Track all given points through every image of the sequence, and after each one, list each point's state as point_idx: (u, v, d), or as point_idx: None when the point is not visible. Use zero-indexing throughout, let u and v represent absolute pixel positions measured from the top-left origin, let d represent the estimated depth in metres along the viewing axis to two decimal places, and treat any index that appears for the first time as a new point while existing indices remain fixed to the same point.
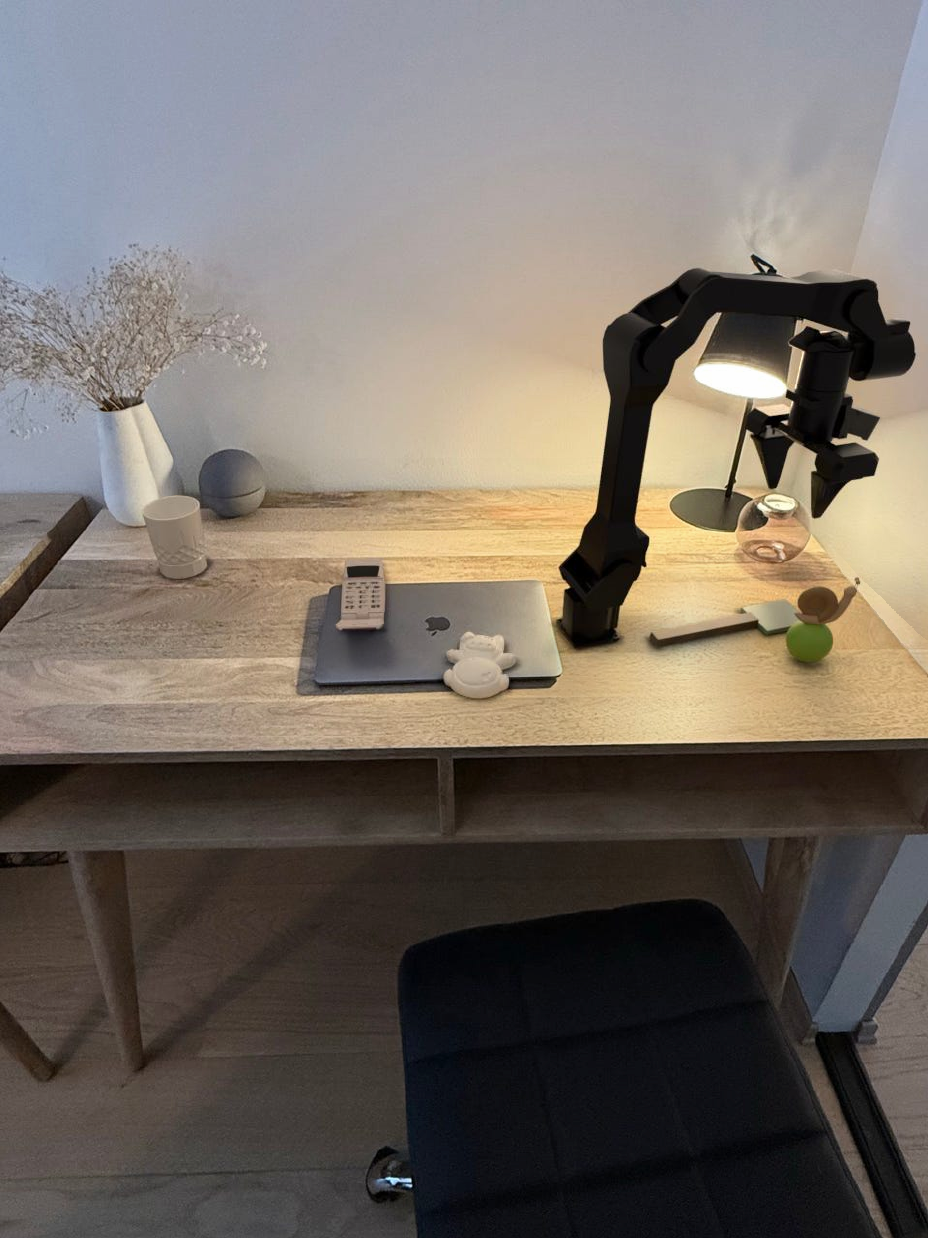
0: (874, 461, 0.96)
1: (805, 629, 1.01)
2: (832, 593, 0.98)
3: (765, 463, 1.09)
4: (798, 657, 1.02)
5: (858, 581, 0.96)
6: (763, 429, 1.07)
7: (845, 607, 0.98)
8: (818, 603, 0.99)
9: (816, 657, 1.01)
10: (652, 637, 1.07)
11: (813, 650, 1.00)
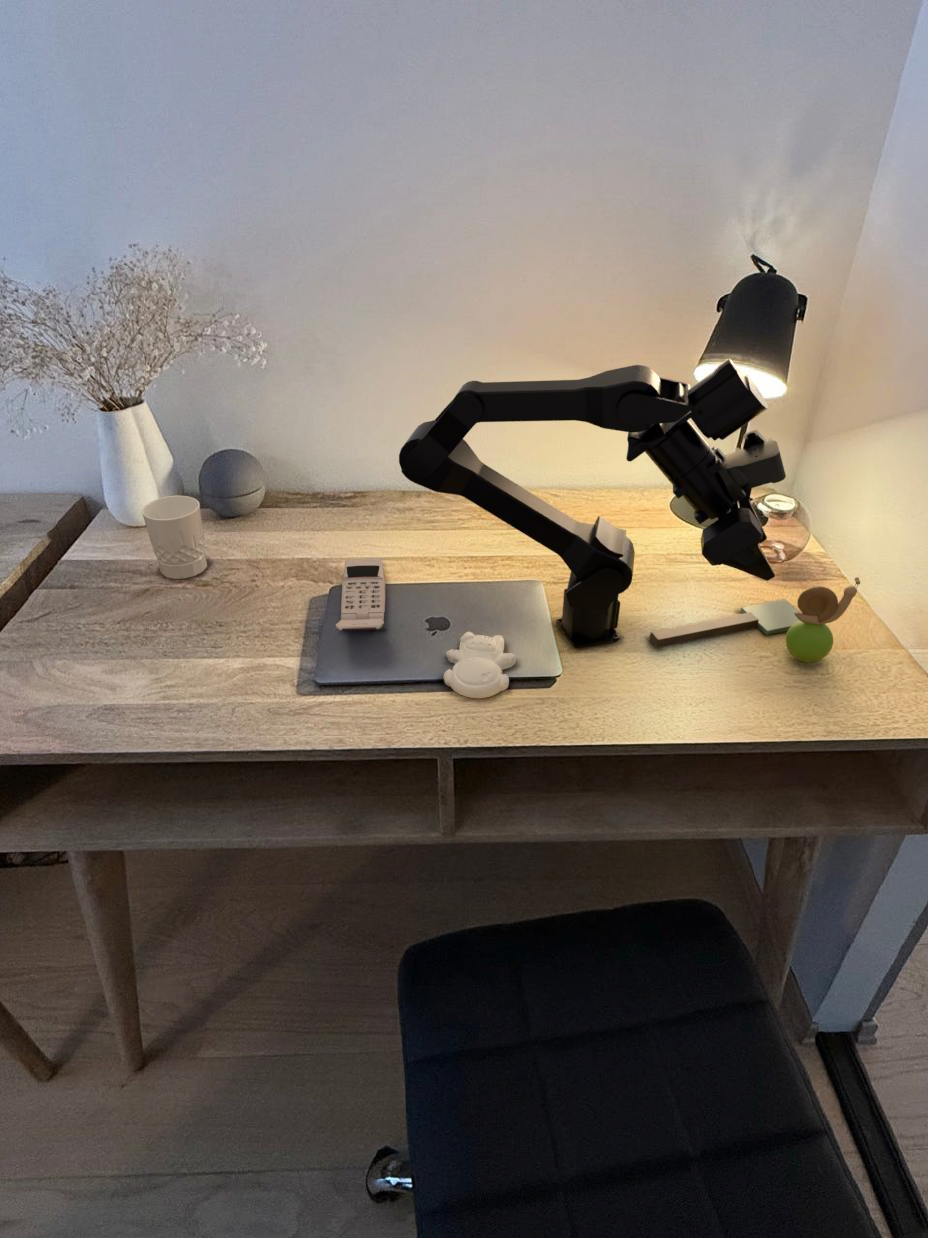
0: (742, 530, 0.87)
1: (805, 629, 1.01)
2: (832, 593, 0.98)
3: None
4: (798, 657, 1.02)
5: (858, 581, 0.96)
6: None
7: (845, 607, 0.98)
8: (818, 603, 0.99)
9: (816, 657, 1.01)
10: (652, 637, 1.07)
11: (813, 650, 1.00)
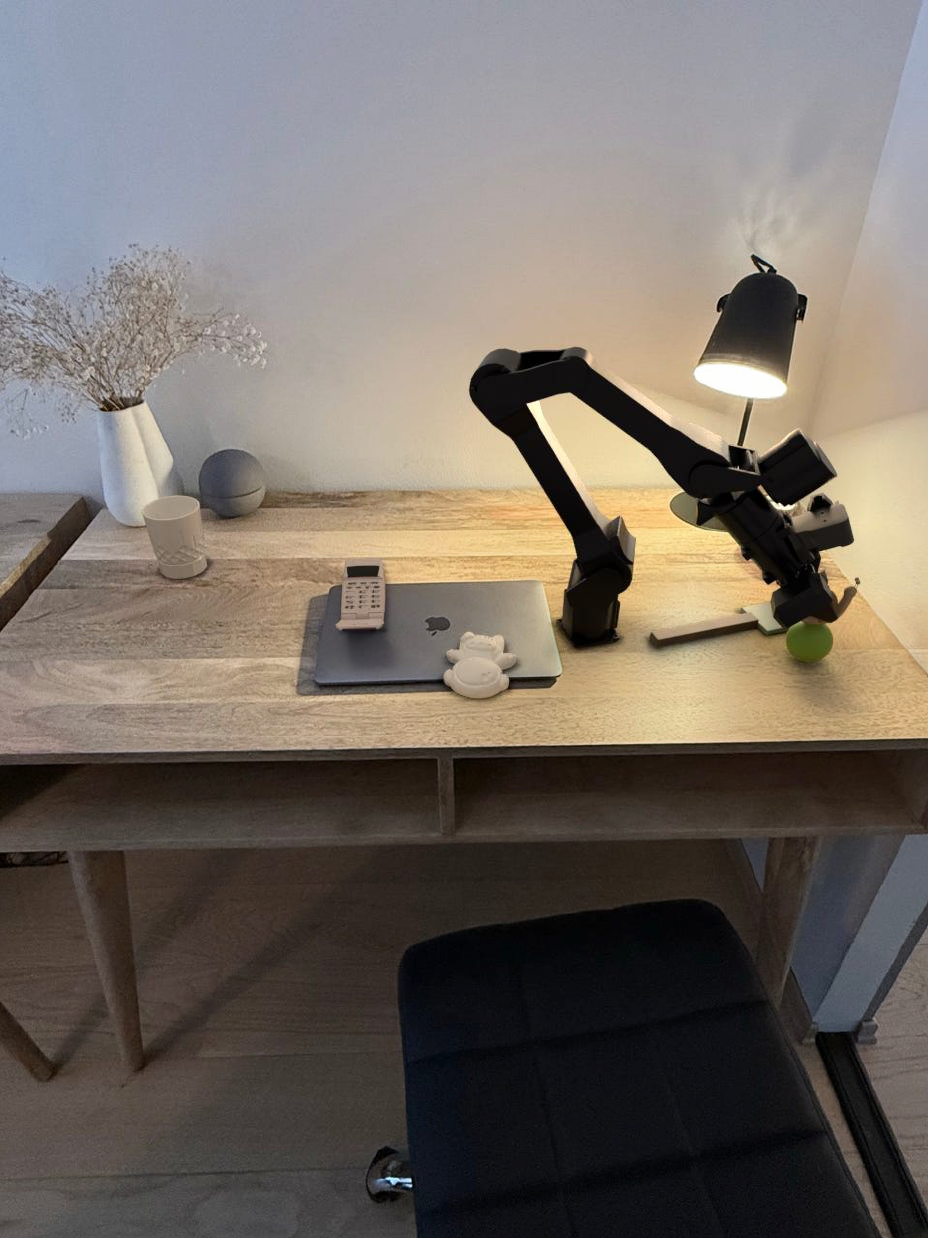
0: (814, 596, 0.89)
1: (805, 629, 1.01)
2: (832, 593, 0.98)
3: None
4: (798, 657, 1.02)
5: (858, 581, 0.96)
6: None
7: (845, 607, 0.98)
8: None
9: (816, 657, 1.01)
10: (652, 637, 1.07)
11: (813, 650, 1.00)
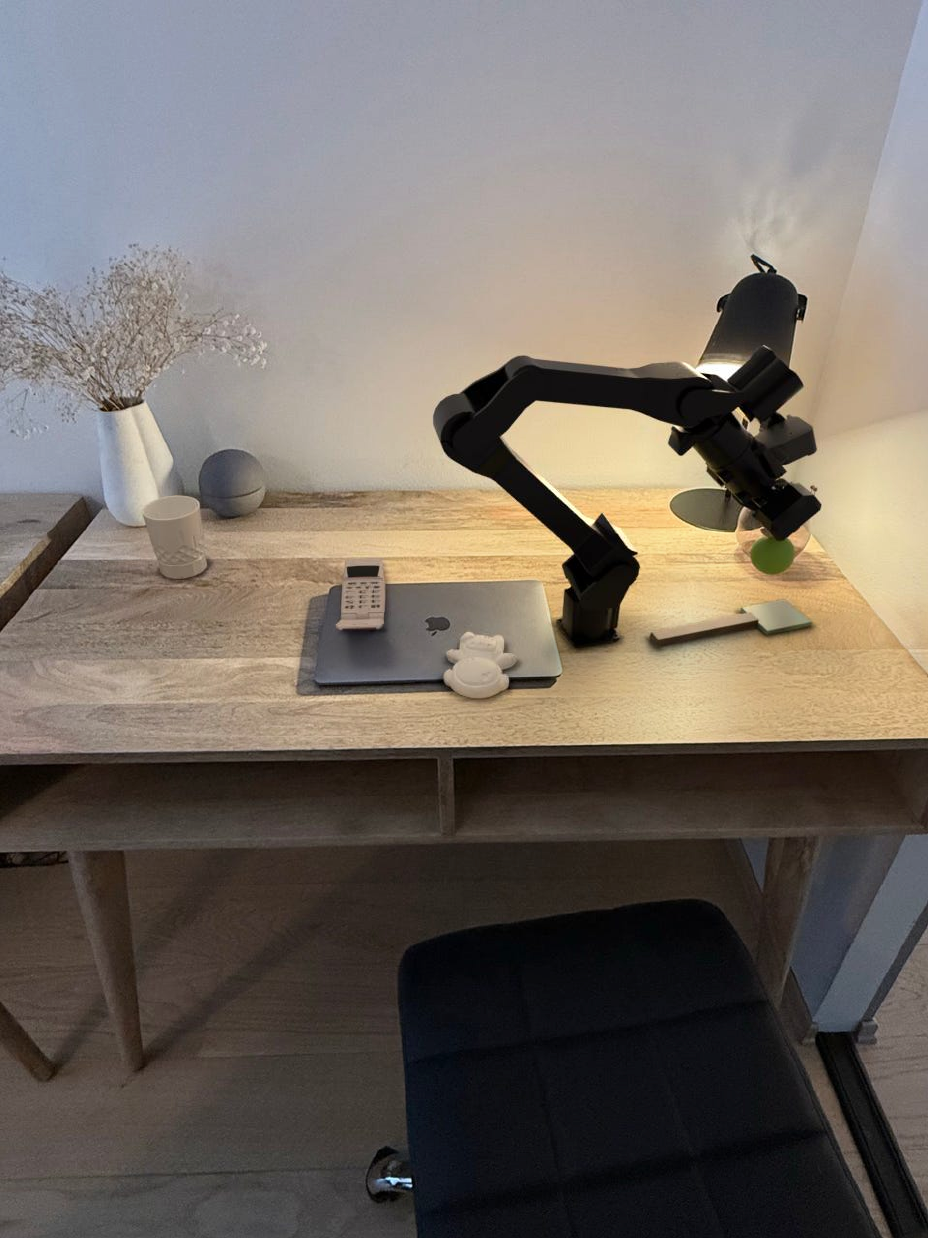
0: (808, 503, 0.92)
1: (772, 543, 1.05)
2: None
3: None
4: (768, 571, 1.06)
5: (815, 488, 1.02)
6: (722, 483, 1.06)
7: None
8: None
9: (785, 567, 1.05)
10: (652, 637, 1.07)
11: (783, 561, 1.05)
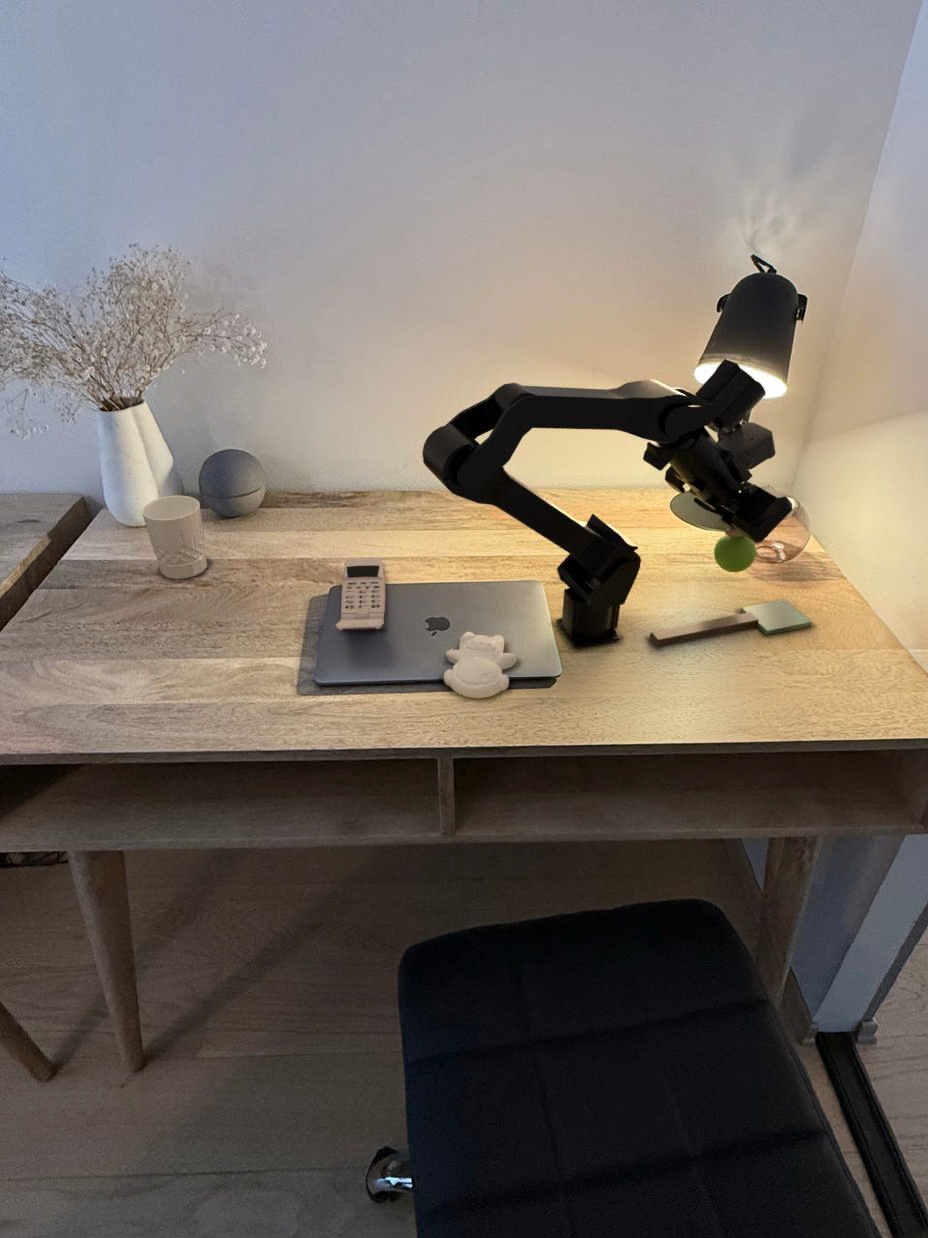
0: (782, 505, 0.97)
1: (736, 542, 1.10)
2: None
3: (723, 516, 1.09)
4: (734, 569, 1.11)
5: (771, 487, 1.08)
6: (684, 490, 1.10)
7: None
8: None
9: (749, 564, 1.11)
10: (652, 637, 1.07)
11: (748, 558, 1.10)
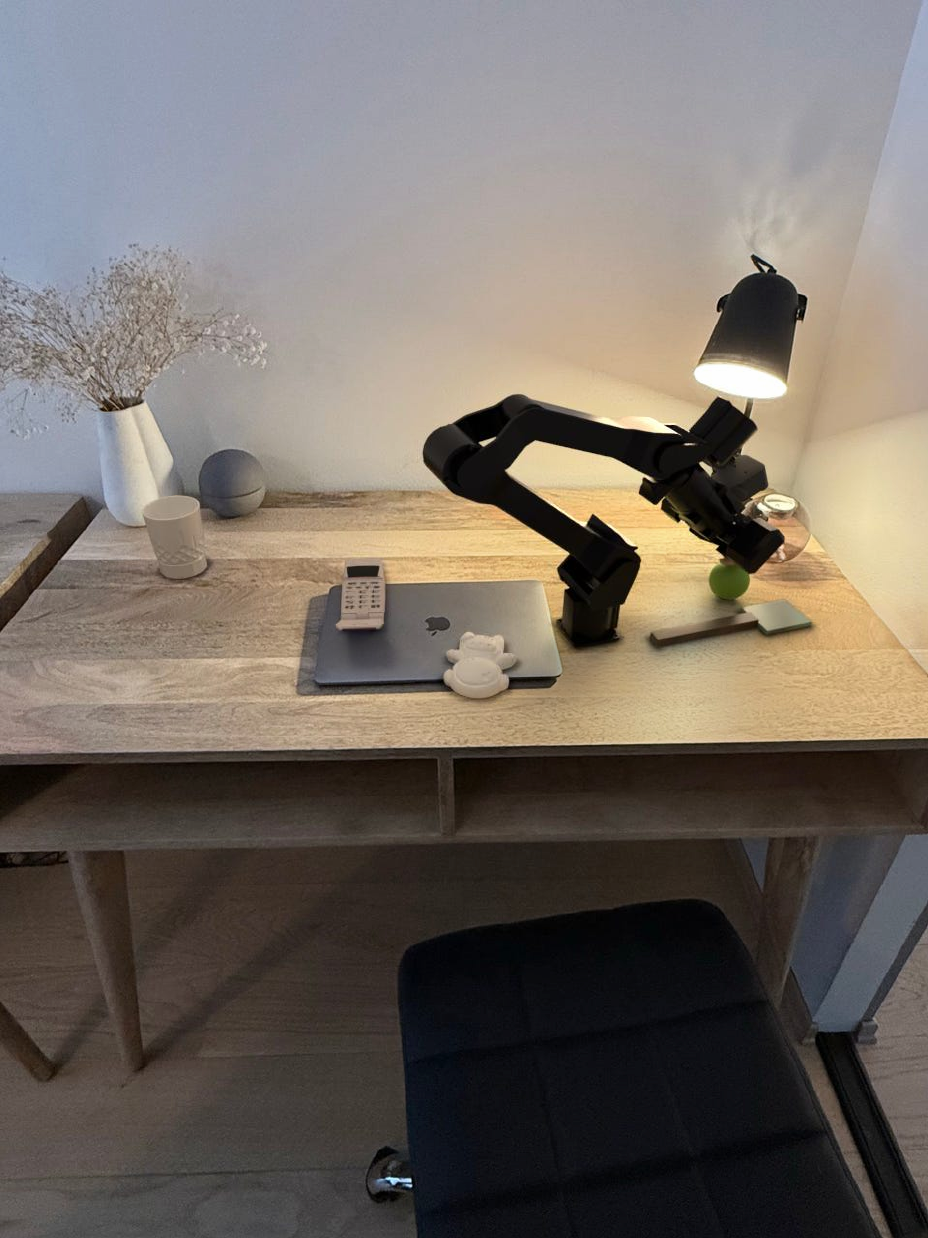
0: (774, 538, 1.00)
1: (730, 571, 1.12)
2: None
3: (718, 545, 1.12)
4: (728, 597, 1.13)
5: (765, 517, 1.10)
6: (679, 519, 1.12)
7: None
8: None
9: (743, 592, 1.13)
10: (652, 637, 1.07)
11: (742, 586, 1.12)
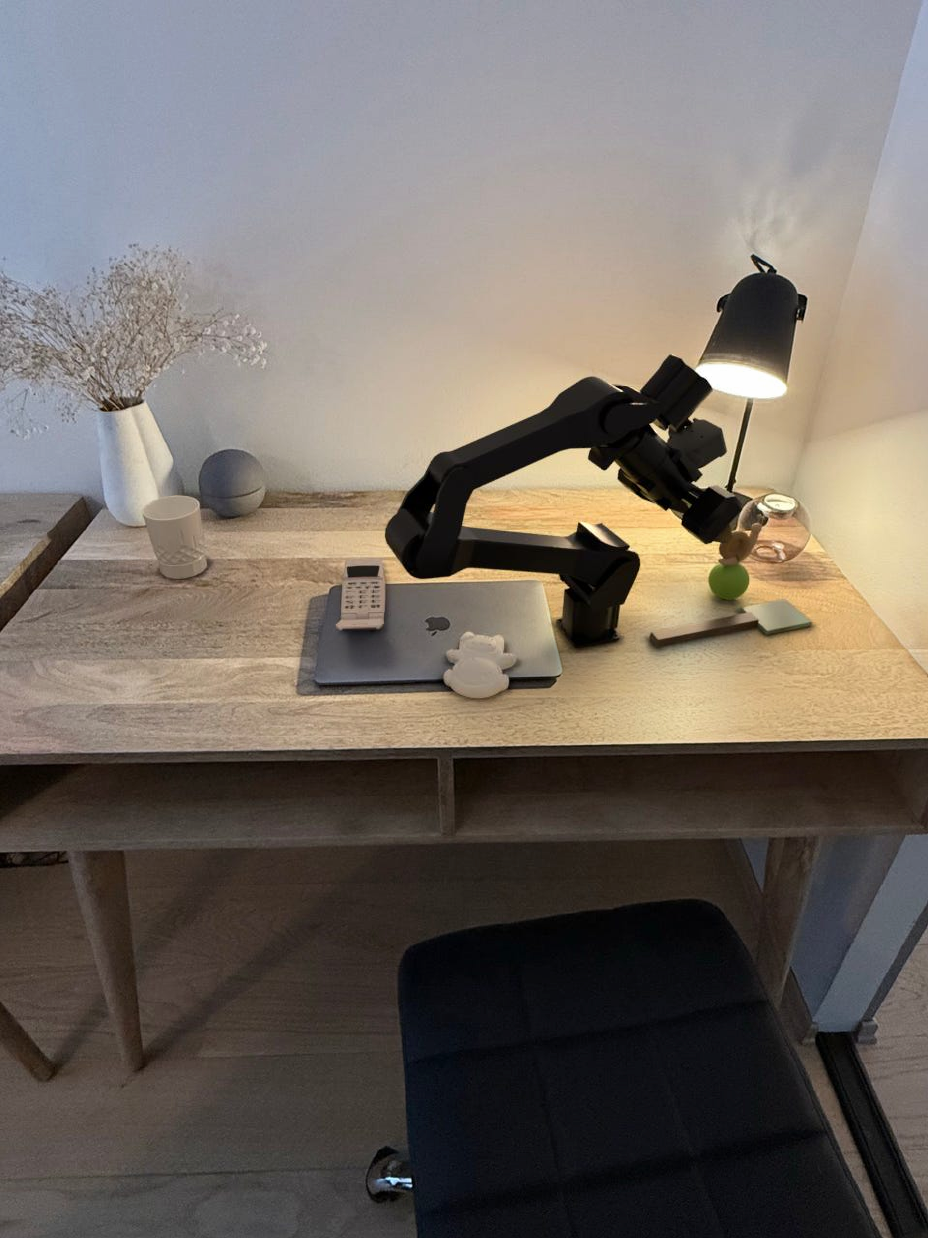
0: (731, 505, 0.94)
1: (730, 571, 1.12)
2: (745, 533, 1.11)
3: None
4: (728, 597, 1.14)
5: (763, 517, 1.10)
6: (636, 490, 1.07)
7: (755, 542, 1.12)
8: (735, 545, 1.11)
9: (743, 592, 1.13)
10: (652, 637, 1.07)
11: (742, 586, 1.12)
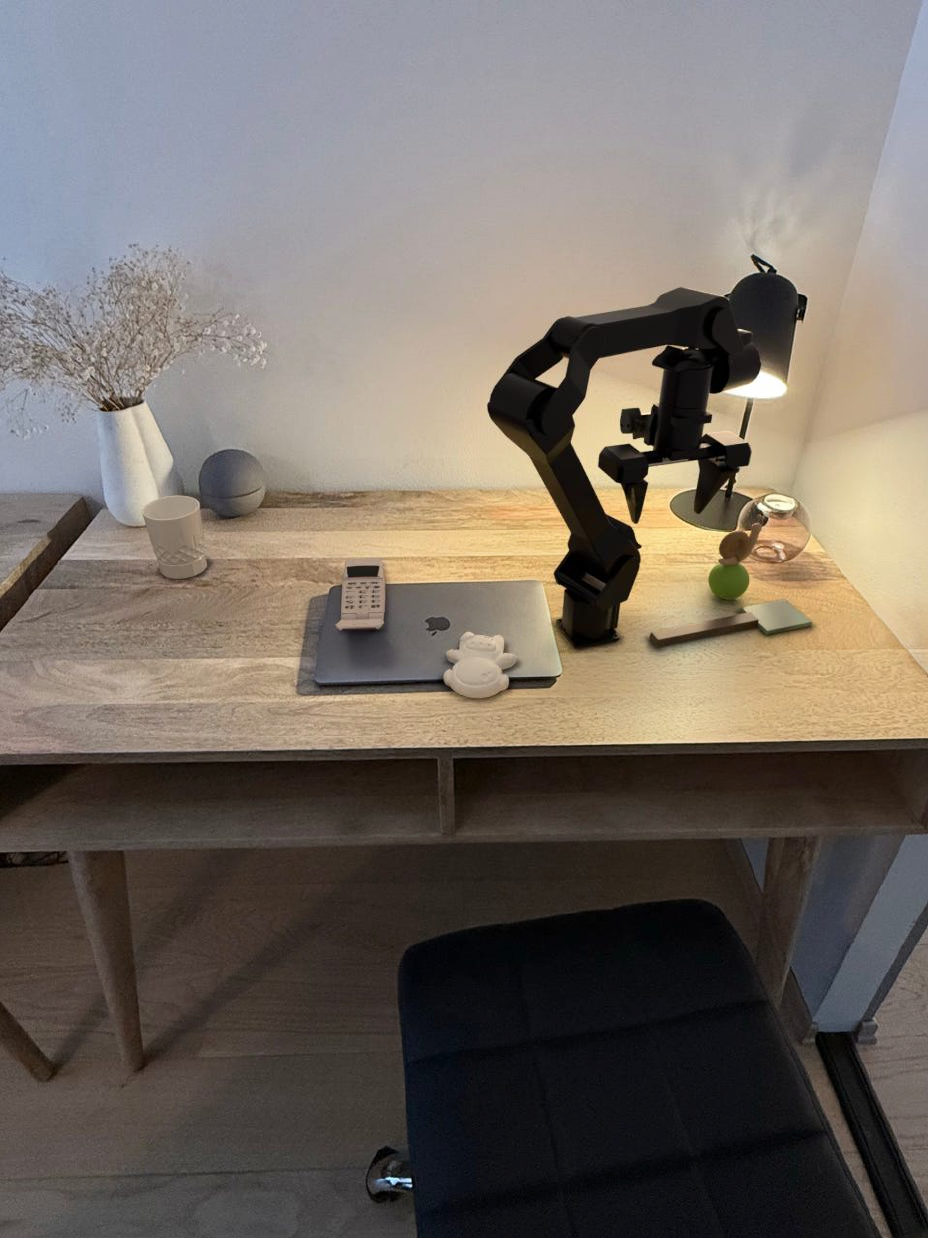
0: None
1: (730, 571, 1.12)
2: (745, 533, 1.11)
3: (643, 502, 1.03)
4: (728, 597, 1.14)
5: (763, 517, 1.10)
6: None
7: (755, 542, 1.12)
8: (735, 545, 1.11)
9: (743, 592, 1.13)
10: (652, 637, 1.07)
11: (742, 586, 1.12)
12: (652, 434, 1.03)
